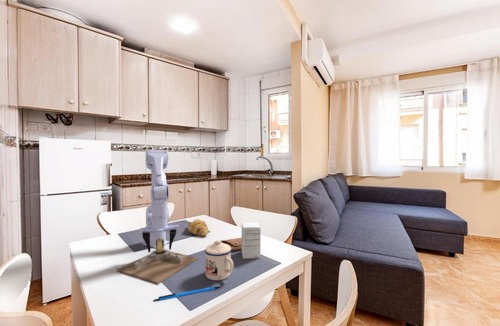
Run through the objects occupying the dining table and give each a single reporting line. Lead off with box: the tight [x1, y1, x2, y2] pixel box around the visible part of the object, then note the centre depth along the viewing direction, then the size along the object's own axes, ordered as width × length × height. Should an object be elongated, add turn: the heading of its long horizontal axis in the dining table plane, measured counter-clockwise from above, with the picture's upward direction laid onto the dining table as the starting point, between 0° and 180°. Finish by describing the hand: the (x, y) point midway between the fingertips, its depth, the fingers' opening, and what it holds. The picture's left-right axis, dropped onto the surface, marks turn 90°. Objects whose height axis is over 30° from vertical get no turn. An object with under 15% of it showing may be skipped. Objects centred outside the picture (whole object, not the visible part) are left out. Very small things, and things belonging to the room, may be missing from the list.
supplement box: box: [241, 221, 262, 259], centre depth 95 cm, size 7×7×13 cm
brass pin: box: [155, 238, 165, 254], centre depth 91 cm, size 3×3×7 cm
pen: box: [153, 286, 221, 302], centre depth 68 cm, size 1×19×1 cm, turn 112°
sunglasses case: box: [213, 237, 242, 254], centre depth 103 cm, size 18×7×7 cm, turn 117°
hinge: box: [135, 248, 182, 269], centre depth 86 cm, size 14×14×2 cm
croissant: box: [187, 218, 209, 237], centre depth 125 cm, size 21×10×8 cm, turn 35°
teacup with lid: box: [204, 239, 235, 281], centre depth 78 cm, size 12×9×12 cm
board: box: [116, 250, 199, 285], centre depth 86 cm, size 20×20×1 cm
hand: (159, 250), depth 91 cm, fingers open, 7 cm apart
